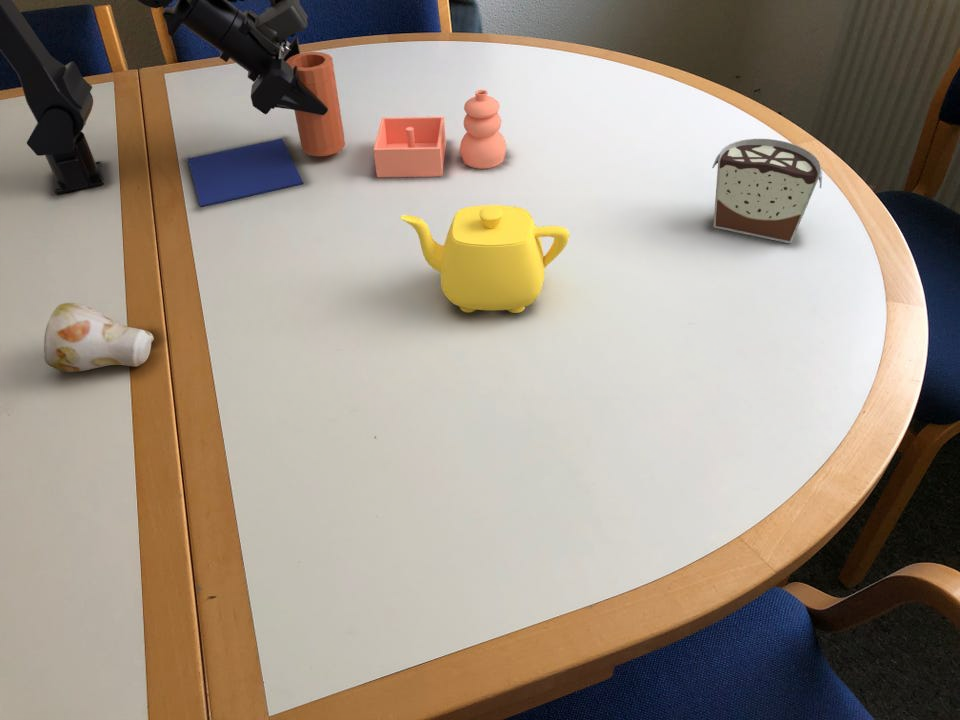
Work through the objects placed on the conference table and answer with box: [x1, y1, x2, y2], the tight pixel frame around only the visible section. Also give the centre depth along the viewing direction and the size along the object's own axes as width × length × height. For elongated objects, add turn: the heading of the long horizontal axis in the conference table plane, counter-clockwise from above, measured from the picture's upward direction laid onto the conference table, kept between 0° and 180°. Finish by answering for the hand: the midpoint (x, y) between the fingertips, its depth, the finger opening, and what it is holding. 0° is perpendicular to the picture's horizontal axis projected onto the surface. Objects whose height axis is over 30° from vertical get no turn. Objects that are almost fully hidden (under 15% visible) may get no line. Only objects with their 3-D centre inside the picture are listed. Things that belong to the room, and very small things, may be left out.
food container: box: [711, 138, 823, 244], centre depth 96 cm, size 12×6×10 cm, turn 65°
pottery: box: [373, 89, 507, 178], centre depth 110 cm, size 18×10×10 cm, turn 88°
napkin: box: [187, 138, 304, 208], centre depth 113 cm, size 14×14×1 cm
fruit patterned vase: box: [43, 302, 155, 373], centre depth 82 cm, size 8×10×10 cm
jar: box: [286, 51, 346, 157], centre depth 111 cm, size 6×6×12 cm
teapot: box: [400, 204, 570, 314], centre depth 87 cm, size 18×11×11 cm, turn 86°
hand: (325, 102), depth 111 cm, fingers closed on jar, 6 cm apart
